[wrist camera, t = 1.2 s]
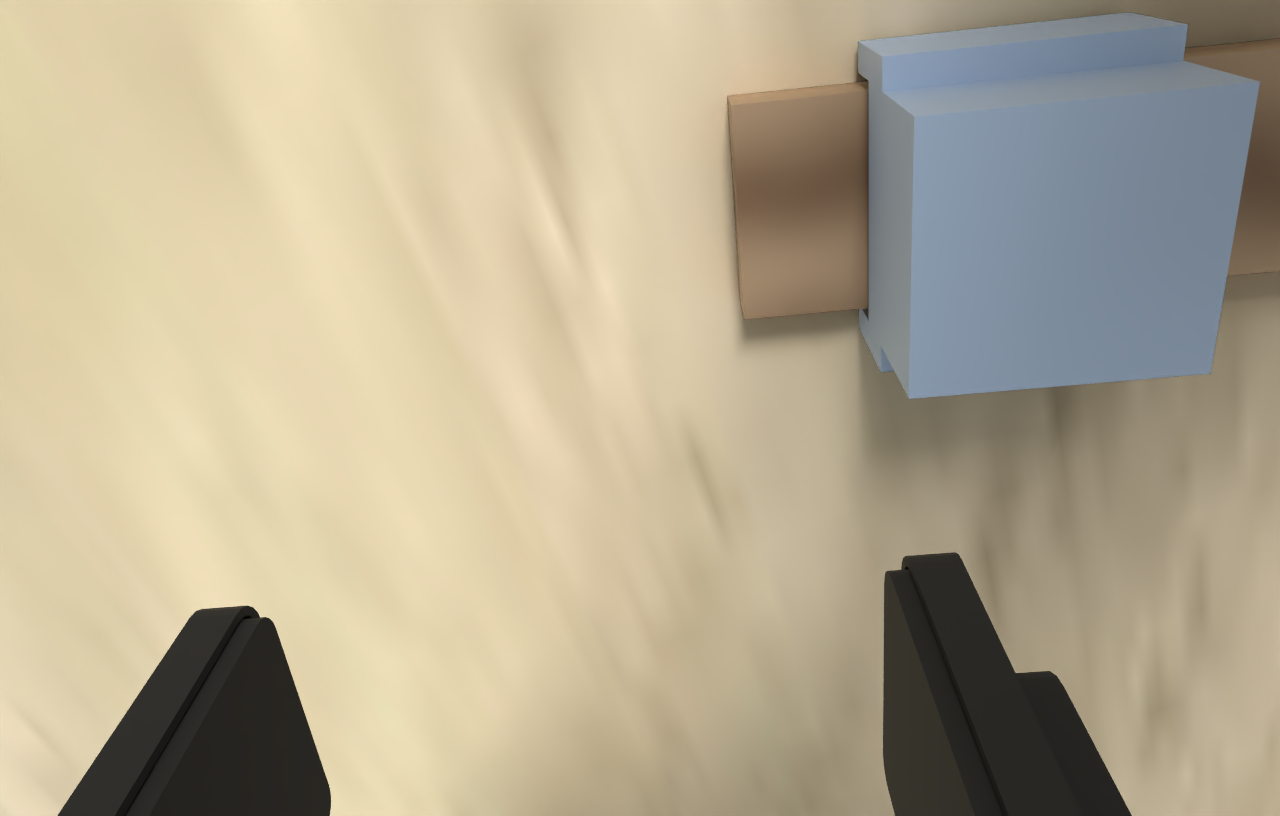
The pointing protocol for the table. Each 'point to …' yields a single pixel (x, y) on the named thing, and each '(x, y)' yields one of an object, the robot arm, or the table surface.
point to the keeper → (1049, 204)
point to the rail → (839, 187)
